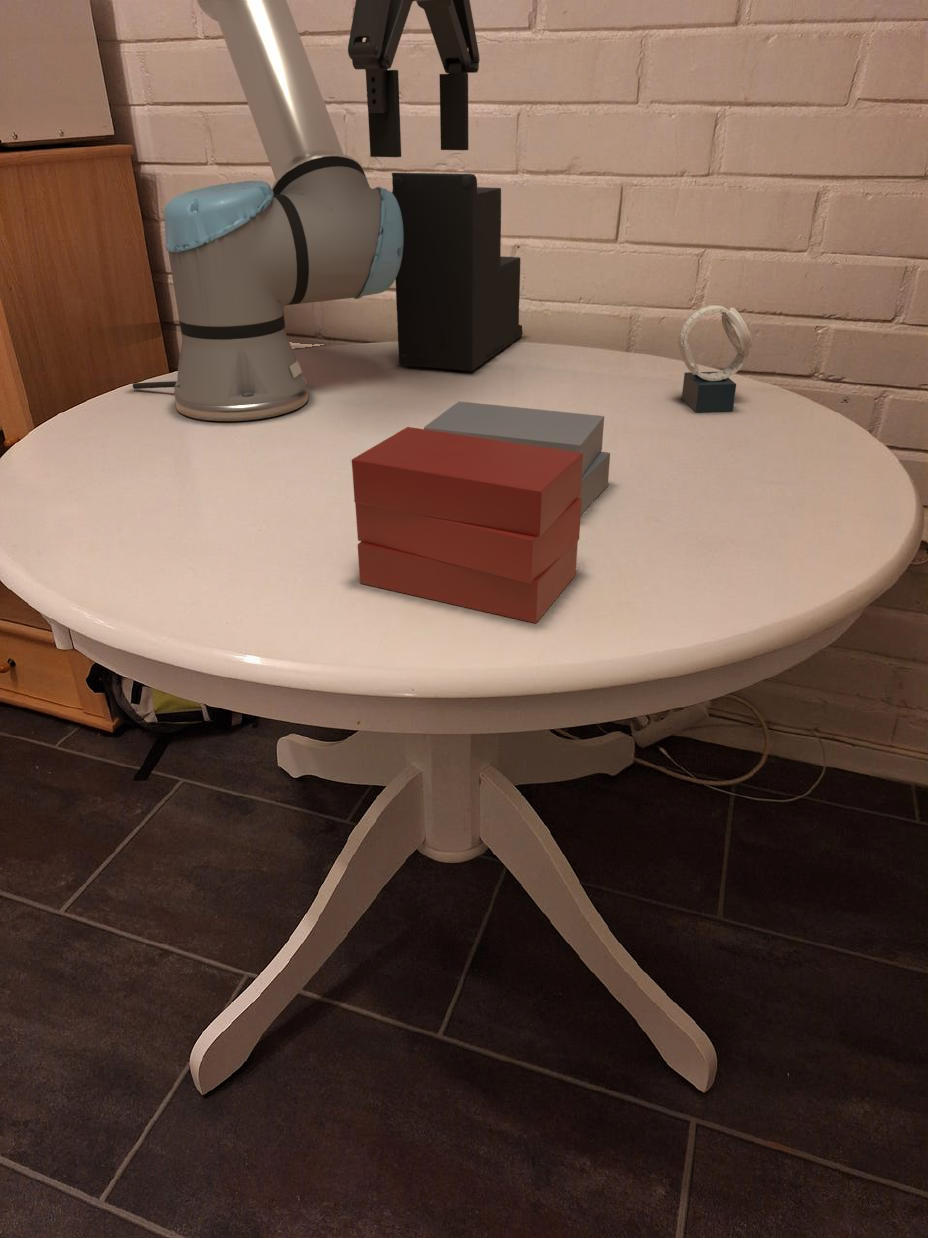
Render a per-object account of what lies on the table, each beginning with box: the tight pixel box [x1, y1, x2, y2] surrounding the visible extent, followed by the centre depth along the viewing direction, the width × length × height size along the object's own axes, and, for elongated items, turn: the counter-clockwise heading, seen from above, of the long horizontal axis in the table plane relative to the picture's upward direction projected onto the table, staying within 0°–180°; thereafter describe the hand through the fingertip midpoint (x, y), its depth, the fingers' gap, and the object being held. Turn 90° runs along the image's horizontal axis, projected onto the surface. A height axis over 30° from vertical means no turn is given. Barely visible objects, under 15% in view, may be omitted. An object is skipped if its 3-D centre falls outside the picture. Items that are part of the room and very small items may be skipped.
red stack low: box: [357, 540, 579, 624], centre depth 67 cm, size 14×8×3 cm, turn 64°
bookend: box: [391, 172, 523, 372], centre depth 123 cm, size 23×11×24 cm, turn 160°
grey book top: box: [423, 400, 605, 476], centre depth 81 cm, size 14×8×3 cm, turn 69°
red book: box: [351, 426, 583, 537], centre depth 64 cm, size 14×8×3 cm, turn 64°
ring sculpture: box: [677, 304, 754, 413], centre depth 103 cm, size 6×8×11 cm
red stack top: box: [354, 498, 582, 583], centre depth 65 cm, size 14×8×3 cm, turn 60°
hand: (422, 153), depth 85 cm, fingers open, 13 cm apart
